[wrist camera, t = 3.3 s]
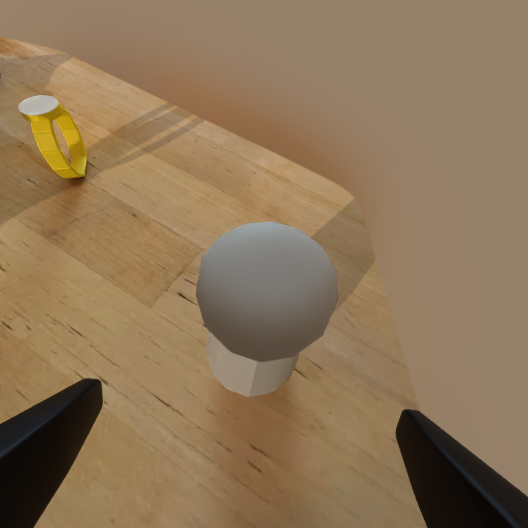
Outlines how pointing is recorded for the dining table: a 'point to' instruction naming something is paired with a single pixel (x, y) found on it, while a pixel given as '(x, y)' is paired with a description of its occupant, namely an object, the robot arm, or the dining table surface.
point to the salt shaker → (263, 303)
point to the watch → (41, 117)
